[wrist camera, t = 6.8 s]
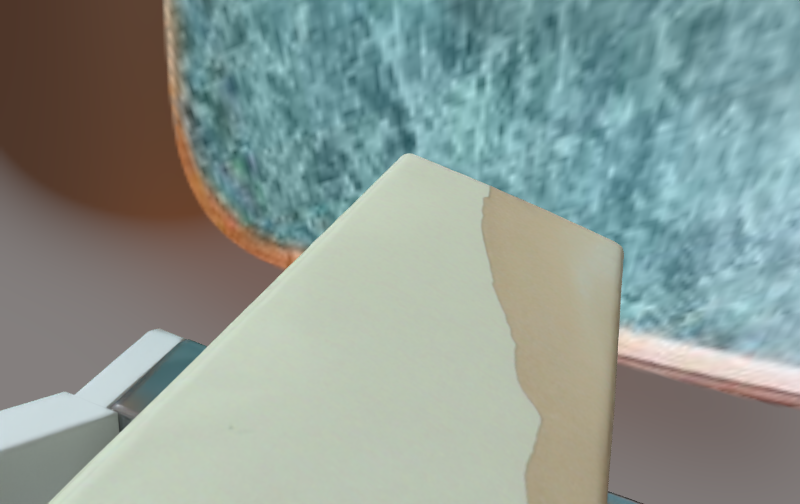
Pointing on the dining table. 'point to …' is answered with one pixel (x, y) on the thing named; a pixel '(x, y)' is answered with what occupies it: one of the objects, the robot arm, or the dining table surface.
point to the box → (397, 366)
